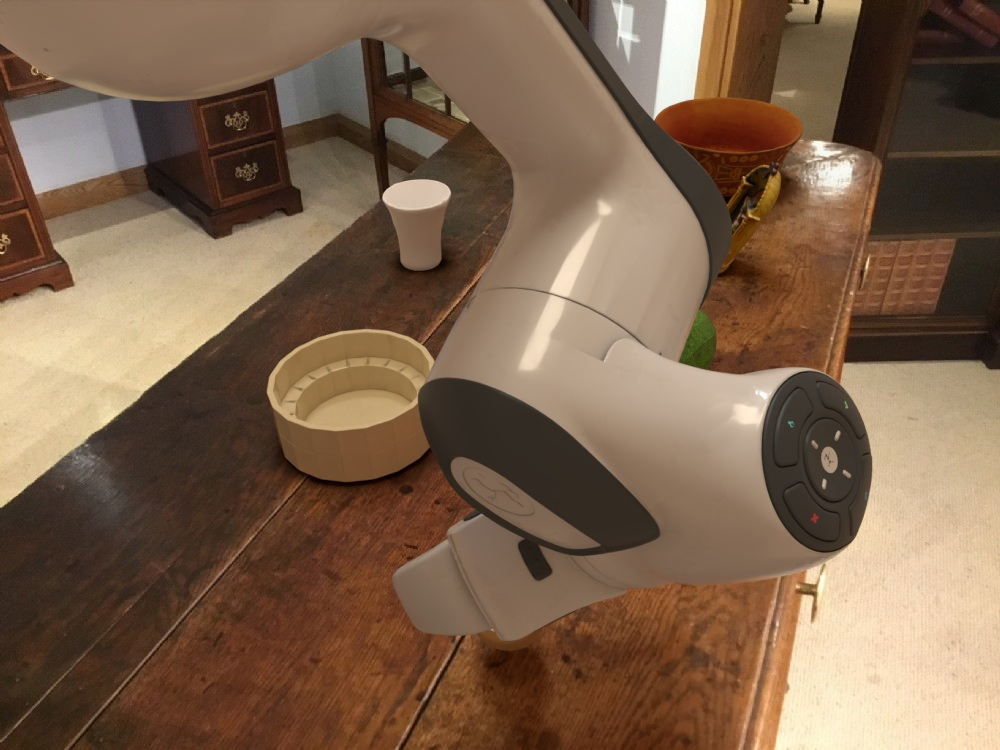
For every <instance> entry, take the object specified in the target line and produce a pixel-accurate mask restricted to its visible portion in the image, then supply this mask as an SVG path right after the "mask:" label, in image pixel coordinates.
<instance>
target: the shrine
mask: <svg viewBox="0 0 1000 750" xmlns="http://www.w3.org/2000/svg"><path fill="white" fill-rule="evenodd" d="M778 168H779V163H773V162H771V163H770V164H769V166H768V165H766V166H765V165H761V166H758V167H757V168H754V169H753V170H752V171H751V172H750V173H749V174H747V175H746V177H744V176H743V177H742V180H741V185H740V186H739V187H738V190H737V191H736V193H735V194H734V196H731V198H730V199H729V201H728V203H726V205H727V207H728V210H729V213H730V217H731V223H732V241H731V247H730V250H729V253H728V255H727V258H726V260H725V261H724V263H723V265H722V267H721V269H720V271H719V273H718V275H717V277H718V276H720V275H722V274H723V273H726V272H727V271H729V268H730V266H731V264H732V262H733V261H734V260H735V258H736V257H737V256H738V254H739V253H740V252H741V251H742V249H743V248H744V247H745V245H746V244H747V243H749V241H750V240H751V238H752V237H753V236H754V234H755V232H757V230H758V229H759V227H760V226H761V225H762V223H763V222H764V221H765V219H766V218H767V217H768V215H770V212H771V211H772V210H773V208H774V206H775V204H776V202H777V201H778V197H779V195H780V192H781V191H780V190H781V185H782V176H781V172H780V173H779V172H778V171H777V170H778Z"/></svg>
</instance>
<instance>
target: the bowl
mask: <svg viewBox="0 0 1000 750" xmlns="http://www.w3.org/2000/svg"><path fill="white" fill-rule="evenodd" d="M653 120H654V121H655V122H656V123H657V124H658V125H659V126H660V127H661V128H662V129H663V130H664V131H665V132H666V133H668V134H669V135H670V136H671V137H672V138H673V139H674V140H675V141H677V142H678V143H679V144H680V145H681V146H682V147H683V148H684V149H685V150H687V151H688V152H689V153H690V154H691V155H692V156H693V157H694V158H695V159H696V160H697V161H698V162H699V163H700V165H701V166H702V167H703V168H704V169H705V170H706V172H707V173H708V174H709V176H710V177H711V178H712V179H713V181H714V183H715V184H716V186H717V187H718V189H719V191H720V192H721V194H722V196H723V198H724V197H725V198H730V197H731V198H732V197H733V196H734V194H735V193H736V191H737V190H738V187H739V186H740V185H741V180H742V177H743V176H744V177H746V175H747V174H749V173H750V172H751V171H752V170H753V169H754V168H757V167H758V166H761V165H765V166H766V165H768V166H769V164H770V163H771V162H773V163H779V168H778V170H777V171H778V172H779V173H780V174H781V170H782V166H783V164H784V161H785V159H786V158H787V155H788V154H789V153H790V151H791V150H792V149H793V147H794V146H795V145H796V144H797V143H798V141H800V139H801V137H802V136H803V133H804V125H803V123H802V121H801V119H800V118H798V117H797V115H796V114H794V113H793V112H792V111H790V110H787V109H786V108H784V107H781V106H780V105H777V104H774V103H770V102H766V101H761V100H758V99H747V98H740V97H729V96H727V97H724V96H717V97H716V96H715V97H704V98H703V97H702V98H695V99H693V98H692V99H686V100H683V101H679V102H677V103H674V104H670V105H669V106H666V107H664V108H663V109H662V110H661V111H660V112H658V113H657V115H656V116H655V118H654V119H653Z"/></svg>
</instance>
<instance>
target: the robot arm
mask: <svg viewBox="0 0 1000 750" xmlns="http://www.w3.org/2000/svg"><path fill="white" fill-rule="evenodd" d="M363 38H365V39H373V40H377V41H380V42H384V43H386V44H388V45H390V46H392V47H394V48H396V49H398V50H399V51H401V52H402V53H404V54H406V55H407V56H408V57H409V58H410V59H412V60H413V62H415V63H416V64H417V65H418V66H419V67H420V69H422V71H423V72H424V73H425V74H426V75H427V76H428V77H429V78H430V79H431V80H432V81H433V82H434V83H435V85H436V86H437V87H438V88H439V89H440V90H441V91H442V92H443V93H444V94H445V96H447V98H449V99H450V101H451V102H452V103H453V104H454V106H456V107H457V108H458V109H459V111H460V112H462V114H463V115H464V116H465V117H466V118H467V119H468V120H469V121H470V122H471V123H472V125H473V126H474V127H475V128H476V129H477V130H478V131H479V132H480V133H481V134H482V135H483V136H484V138H485V139H486V140H487V141H488V142H489V143H490V144H491V146H493V147H494V148H495V149H496V150H497V152H498V153H499V154H501V156H502V157H503V158H504V159H505V160H506V162H507V163H508V165H509V167H510V171H511V174H512V180H513V181H512V182H513V197H512V205H511V211H510V216H509V219H508V223H507V226H506V228H505V231H504V233H503V235H502V237H501V239H500V240H499V242H498V244H497V246H496V248H495V250H494V252H493V254H492V256H491V257H490V260H489V261H488V263H487V265H486V267H485V268H484V270H483V273H482V274H481V276H480V278H479V280H478V282H477V284H476V286H475V287H474V290H473V292H472V293H471V296H470V297H469V299H468V301H467V302H466V304H464V305H463V306H462V309H461V311H460V313H459V314H458V316H457V318H456V320H455V322H454V323H453V326H452V327H451V329H450V331H449V333H448V334H447V337H446V339H445V341H444V342H443V345H442V347H441V349H440V351H439V352H438V354H437V357H436V358H435V359H434V361H435V362H434V364H433V366H432V368H431V370H430V372H429V374H428V376H427V378H426V380H425V383H424V385H423V386H422V387H421V388H420V390H419V393H418V409H419V415H420V420H421V424H422V427H423V431H424V433H425V436H426V439H427V441H428V444H429V446H430V448H429V449H430V450H431V452H432V455H433V457H434V458H435V460H436V462H437V465H438V466H439V468H440V470H441V473H442V474H443V475H444V477H445V479H446V481H447V483H448V485H449V486H450V487H451V488H452V490H453V491H454V492H455V493H456V494H457V496H458V497H460V498H461V500H463V501H464V502H466V504H468V505H469V506H470V507H472V508H473V509H474V510H472V511H471V512H469V513H468V514H466V515H465V516H463V518H462V519H461V520H459V521H458V522H457V523H455V524H453V525H452V526H450V527H449V529H447V531H446V534H445V535H446V539H445V540H443V541H442V542H440V543H438V544H437V545H436V546H434V547H432V548H430V549H428V550H427V551H425V552H424V553H422V554H420V555H418V556H417V557H414V558H413V559H411V560H410V561H408V562H406V563H404V564H402V565H401V566H400V567H399V568H397V569H396V570H395V571H394V573H393V574H392V578H391V582H392V586H393V589H394V591H395V593H396V596H397V598H398V600H399V602H400V604H401V606H402V608H403V610H404V612H405V613H406V615H407V617H408V618H409V620H410V622H411V624H413V627H415V629H416V630H418V631H419V632H421V633H423V634H424V633H425V634H430V635H437V636H451V637H453V636H454V637H455V636H456V637H458V636H459V637H462V636H463V637H464V636H472V635H477V633H481V632H484V631H488V630H490V629H493V630H494V632H495V633H496V635H497V636H498V637H499V639H500V640H503V641H515V640H519V639H521V638H523V637H525V636H527V635H529V634H531V633H533V632H536V631H538V630H540V629H542V628H543V629H544V628H545V627H548V626H549V625H551V624H553V623H556V622H557V621H559V620H560V619H561V620H562V619H563V618H565V617H567V616H569V615H571V614H573V613H575V612H577V611H579V610H581V609H582V608H585V607H588V606H590V605H593V604H596V603H599V602H603V601H606V600H612V599H613V598H618V597H622V596H623V595H625V594H627V593H628V590H643V589H645V590H647V589H648V590H649V589H654V588H660V587H661V588H662V587H665V586H667V585H670V584H673V583H676V584H677V583H678V584H681V585H685V586H693V587H702V586H704V587H705V586H706V587H707V586H724V585H734V584H745V583H753V582H759V581H765V580H771V579H777V578H782V577H785V576H790V575H794V574H797V573H802V572H805V571H807V570H808V571H809V570H811V569H813V568H816V567H819V566H821V565H823V564H825V563H827V562H828V561H830V560H832V559H834V558H835V557H837V556H838V555H839V554H841V553H842V552H843V551H844V550H845V551H846V549H847V548H848V547H849V546H850V545H851V544H852V543H853V542H854V540H855V539H856V538H857V535H858V533H859V530H860V528H861V526H862V523H863V520H864V518H865V515H866V514H865V513H866V511H867V507H868V503H869V498H870V493H871V488H872V480H873V456H872V449H871V444H870V443H871V442H870V438H869V435H868V432H867V428H866V425H865V422H864V420H863V417H862V414H861V412H860V411H859V409H858V407H857V405H856V403H855V401H854V400H853V398H852V396H851V395H850V393H849V392H848V391H847V390H846V389H845V387H843V385H842V384H841V383H840V382H839V381H838V380H836V379H835V378H834V377H832V376H831V375H829V374H828V373H825V372H823V371H821V370H819V369H815V368H813V367H802V366H800V367H799V366H789V367H787V366H786V367H776V368H769V369H763V370H757V371H751V372H746V373H742V374H738V373H730V372H729V373H728V372H723V371H722V372H721V371H716V370H710V369H708V370H704V369H700V368H696V367H692V366H689V365H685V364H682V363H679V360H680V357H681V354H682V352H683V349H684V347H685V344H686V341H687V339H688V336H689V333H690V331H691V328H692V326H693V323H694V320H695V318H696V315H697V313H698V311H699V310H700V308H701V309H702V307H703V305H704V303H705V301H706V299H707V297H708V295H709V294H710V291H711V290H712V288H713V285H714V283H715V281H716V280H717V277H718V276H719V275H718V273H719V271H720V269H721V267H722V265H723V263H724V261H725V260H726V258H727V255H728V253H729V250H730V247H731V241H732V223H731V217H730V213H729V210H728V207H727V202H726V200H725V198H724V197H723V196H722V194H721V192H720V191H719V189H718V187H717V186H716V184H715V183H714V181H713V179H712V178H711V177H710V176H709V174H708V173H707V172H706V170H705V169H704V168H703V167H702V166H701V165H700V163H699V162H698V161H697V160H696V159H695V158H694V157H693V156H692V155H691V154H690V153H689V152H688V151H687V150H685V149H684V148H683V147H682V146H681V145H680V144H679V143H678V142H677V141H675V140H674V139H673V138H672V137H671V136H670V135H669V134H668V133H666V132H665V131H664V130H663V129H662V128H661V127H660V126H659V125H658V124H657V123H656V122H655V121H654V120H655V119H653V118H652V116H650V114H649V113H648V112H647V111H646V110H645V109H644V108H643V106H642V105H641V104H640V103H639V102H638V100H637V99H636V98H635V96H633V94H632V93H631V91H630V90H629V89H628V87H627V86H626V84H625V83H624V81H623V80H622V79H621V78H620V76H619V74H618V73H617V72H616V71H615V68H613V66H612V64H611V63H610V61H609V60H608V59H607V58H606V56H605V55H604V53H603V52H602V50H601V49H600V47H599V46H598V45H597V43H596V42H595V40H594V39H593V38H592V35H591V34H590V33H589V32H588V30H587V29H586V27H585V26H584V24H583V23H582V21H581V20H580V19H579V18H578V16H577V15H576V12H575V11H574V10H573V9H572V7H571V6H570V4H569V3H568V2H567V0H0V45H2V46H3V47H5V48H6V49H7V50H9V51H10V52H12V53H13V54H14V55H16V56H17V57H18V58H20V59H21V60H22V61H25V62H26V63H27V64H29V65H31V66H33V67H34V68H35V69H37V70H39V71H40V72H42V73H44V74H45V75H47V76H49V77H51V78H52V79H55V80H57V81H60V82H62V83H66V84H68V85H72V86H74V87H78V88H80V89H83V90H86V91H91V92H93V93H94V92H95V93H98V94H101V95H105V96H110V97H113V98H121V99H128V100H131V101H133V100H134V101H146V102H181V101H190V100H191V101H192V100H200V99H201V100H202V99H206V98H210V97H216V96H221V95H224V94H228V93H231V92H236V91H240V90H242V89H245V88H249V87H252V86H255V85H258V84H260V83H264V82H265V81H269V80H272V79H274V78H277V77H280V76H282V75H285V74H287V73H290V72H292V71H294V70H296V69H299V68H301V67H303V66H305V65H308V64H310V63H312V62H314V61H317V60H318V59H320V58H322V57H325V56H327V55H329V54H331V53H333V52H336V51H337V50H340V49H342V48H344V47H346V46H348V45H350V44H352V43H354V42H356V41H358V40H360V39H363ZM717 275H718V276H717Z"/></svg>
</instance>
